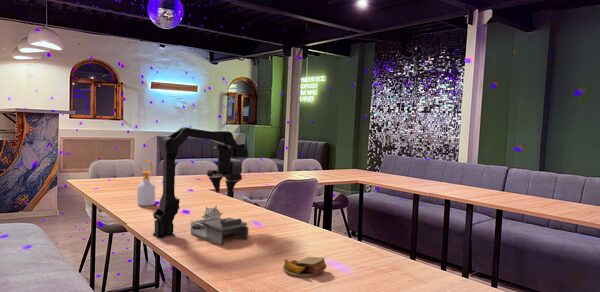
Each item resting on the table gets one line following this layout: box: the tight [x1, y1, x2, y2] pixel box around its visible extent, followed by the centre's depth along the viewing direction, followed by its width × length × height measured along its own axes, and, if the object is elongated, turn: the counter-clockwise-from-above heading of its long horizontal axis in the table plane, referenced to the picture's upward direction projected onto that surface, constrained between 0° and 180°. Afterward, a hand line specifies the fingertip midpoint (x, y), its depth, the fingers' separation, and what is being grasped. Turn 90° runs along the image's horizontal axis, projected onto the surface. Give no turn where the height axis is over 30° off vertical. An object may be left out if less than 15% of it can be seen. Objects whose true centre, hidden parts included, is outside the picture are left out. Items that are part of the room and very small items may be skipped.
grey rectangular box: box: [190, 216, 249, 247], centre depth 170 cm, size 17×22×5 cm
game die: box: [201, 205, 224, 219], centre depth 189 cm, size 9×8×10 cm
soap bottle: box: [136, 159, 156, 207], centre depth 228 cm, size 9×9×25 cm
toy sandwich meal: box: [282, 256, 327, 278], centre depth 134 cm, size 12×14×5 cm
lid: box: [202, 217, 248, 231], centre depth 167 cm, size 13×12×3 cm
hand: (223, 194), depth 186 cm, fingers open, 9 cm apart
